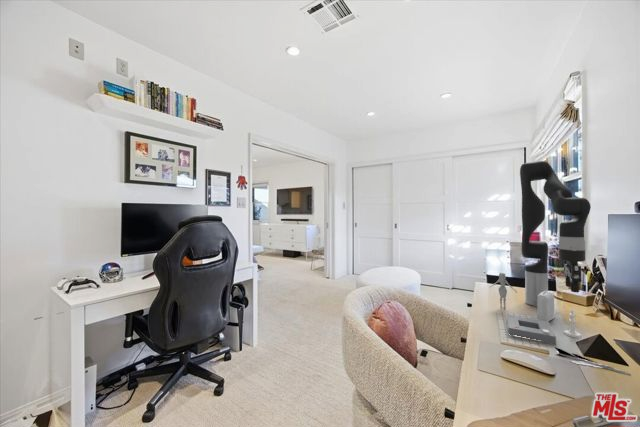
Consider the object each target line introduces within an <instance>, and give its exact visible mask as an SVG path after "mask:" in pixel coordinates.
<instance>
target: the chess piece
mask: <svg viewBox="0 0 640 427" xmlns="http://www.w3.org/2000/svg"><path fill="white" fill-rule="evenodd" d="M575 312H576V311H575V310H574V309H570V311H569V313H568V316H569V319H568V321H569V322H570V324H569V329H566V330H563V334H565V335H566V336H567V337H568V336H569V337H572V338H576V339H577V338H578V339H580V338H582V334H581V333H579V332H578V331H576V328H575V327H576V326H575V323H576V322H577V321H576V320H575V318H576V314H575Z"/></svg>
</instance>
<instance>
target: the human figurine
mask: <svg viewBox="0 0 640 427" xmlns="http://www.w3.org/2000/svg"><path fill="white" fill-rule="evenodd" d="M497 283H499V284H500V286H499V287H498V293H499V294H498V295H499V297H500V298H499V301H500V302H499V303H500V309H503V310H506V309H507V307H506V304H507V303H506V302H507V301H506V300H507V298H506V297H507V293H508V290H507V287H506V285H508V286H509V287H510V289H512V291H514V292H515V293H518V292H517V290H516V289H515V288H513V286H512V285H510V283H509V282H508V281H507V276H506V273H504V272H499V274H498V280H497V281H496V282H494V283H493V284H492V285H490V286H489V288H488V289H490V288H491V287H493V286H495V285H496V284H497ZM502 305H503V306H502Z"/></svg>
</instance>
